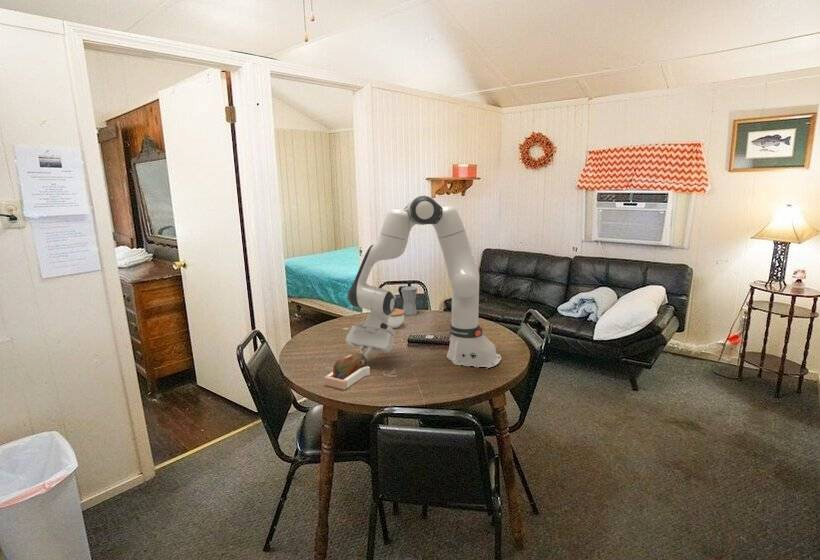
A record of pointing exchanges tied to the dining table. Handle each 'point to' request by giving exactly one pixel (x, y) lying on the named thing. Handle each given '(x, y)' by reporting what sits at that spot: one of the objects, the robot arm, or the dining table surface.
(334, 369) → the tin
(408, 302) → the coffee maker
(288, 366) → the dining table surface
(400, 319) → the lidded jar
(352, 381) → the guide channel
